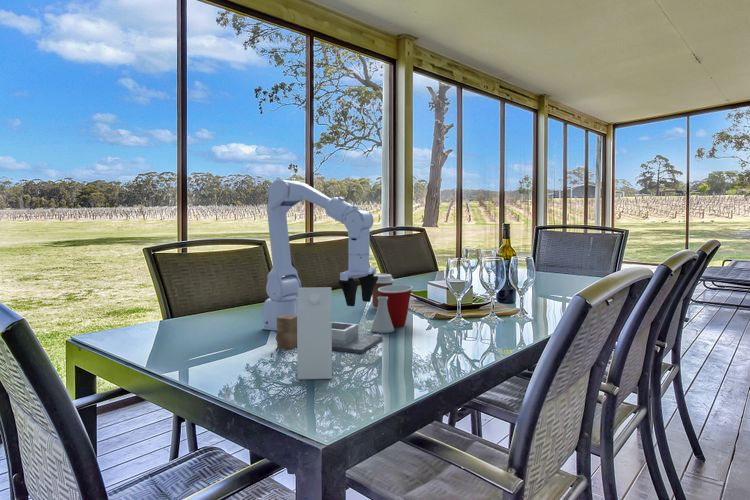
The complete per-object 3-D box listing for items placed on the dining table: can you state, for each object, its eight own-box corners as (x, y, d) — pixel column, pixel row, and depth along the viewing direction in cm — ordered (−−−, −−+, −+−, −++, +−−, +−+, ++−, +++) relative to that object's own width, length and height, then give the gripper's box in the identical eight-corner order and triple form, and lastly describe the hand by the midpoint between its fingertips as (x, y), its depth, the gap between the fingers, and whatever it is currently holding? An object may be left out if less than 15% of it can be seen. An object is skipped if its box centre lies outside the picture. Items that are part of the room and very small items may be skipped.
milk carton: (299, 369, 112) (299, 285, 110) (331, 368, 113) (331, 284, 111) (297, 380, 105) (296, 290, 103) (331, 379, 106) (331, 290, 104)
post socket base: (292, 345, 132) (292, 328, 132) (318, 333, 145) (318, 317, 144) (361, 353, 124) (361, 335, 124) (382, 340, 137) (382, 324, 137)
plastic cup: (372, 323, 158) (372, 285, 157) (402, 320, 162) (403, 283, 161) (386, 330, 148) (386, 290, 147) (418, 327, 152) (419, 288, 151)
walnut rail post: (277, 348, 129) (276, 317, 128) (285, 344, 133) (285, 314, 132) (290, 350, 127) (290, 319, 127) (298, 346, 131) (298, 316, 130)
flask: (392, 334, 144) (392, 299, 143) (367, 333, 145) (368, 298, 144) (396, 328, 151) (396, 295, 150) (372, 327, 152) (373, 294, 151)
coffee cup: (370, 305, 187) (370, 273, 186) (394, 305, 186) (395, 273, 185) (367, 309, 178) (367, 276, 177) (393, 310, 177) (393, 276, 176)
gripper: (355, 257, 128) (355, 309, 129) (385, 253, 140) (385, 301, 141) (333, 255, 132) (333, 306, 133) (364, 251, 144) (364, 298, 145)
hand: (358, 303), depth 137 cm, fingers open, 7 cm apart
